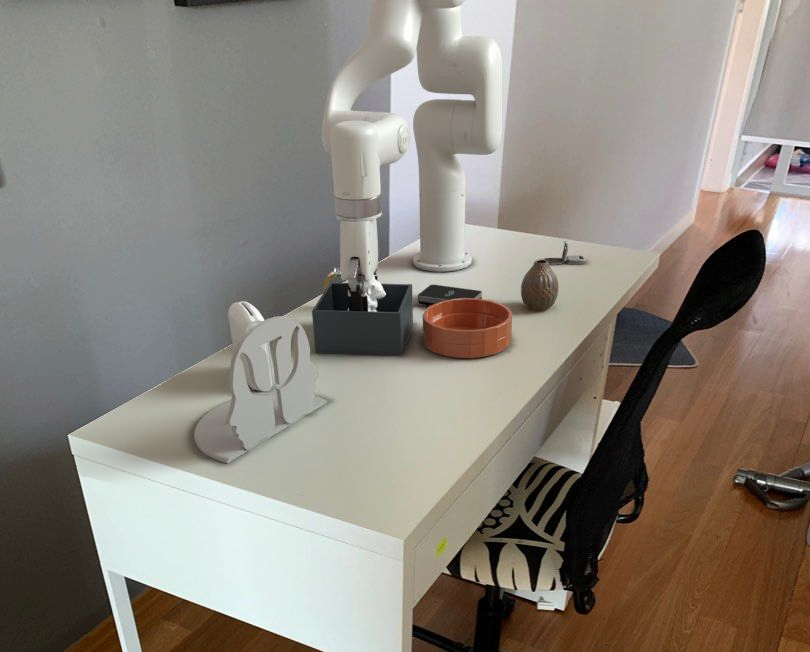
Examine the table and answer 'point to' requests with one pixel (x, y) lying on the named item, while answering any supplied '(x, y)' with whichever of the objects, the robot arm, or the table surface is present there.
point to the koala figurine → (373, 293)
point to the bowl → (467, 327)
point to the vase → (539, 287)
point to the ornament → (264, 412)
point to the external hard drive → (445, 294)
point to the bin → (363, 322)
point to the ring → (332, 276)
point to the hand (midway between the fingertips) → (364, 308)
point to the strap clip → (570, 259)
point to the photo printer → (240, 323)
